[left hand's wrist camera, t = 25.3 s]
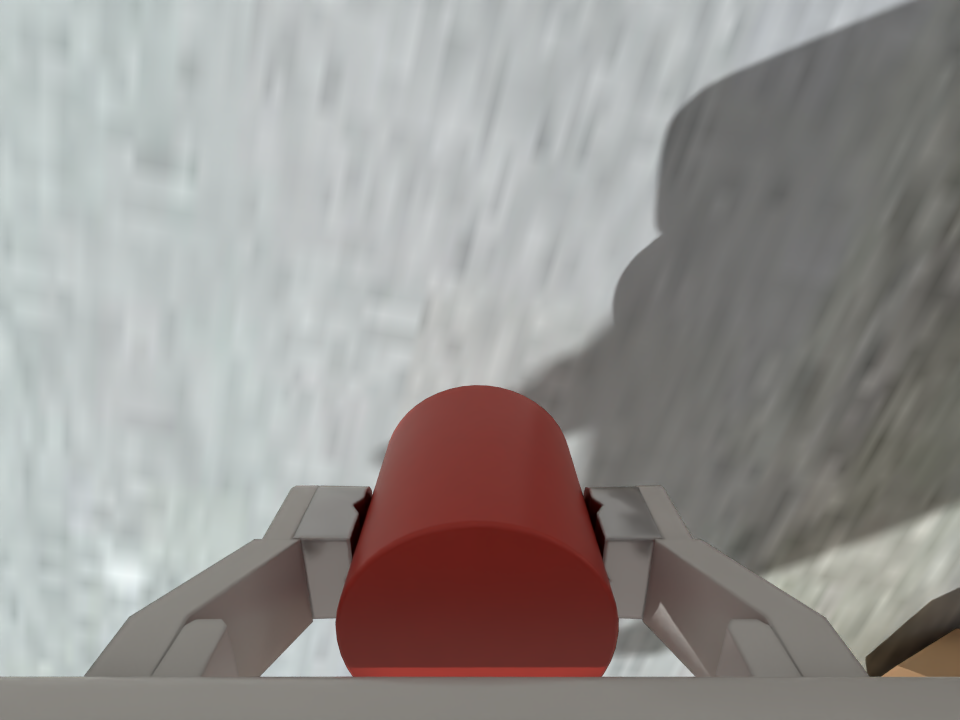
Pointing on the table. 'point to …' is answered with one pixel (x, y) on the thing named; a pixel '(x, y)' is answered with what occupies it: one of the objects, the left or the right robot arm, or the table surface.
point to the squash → (933, 660)
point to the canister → (477, 550)
